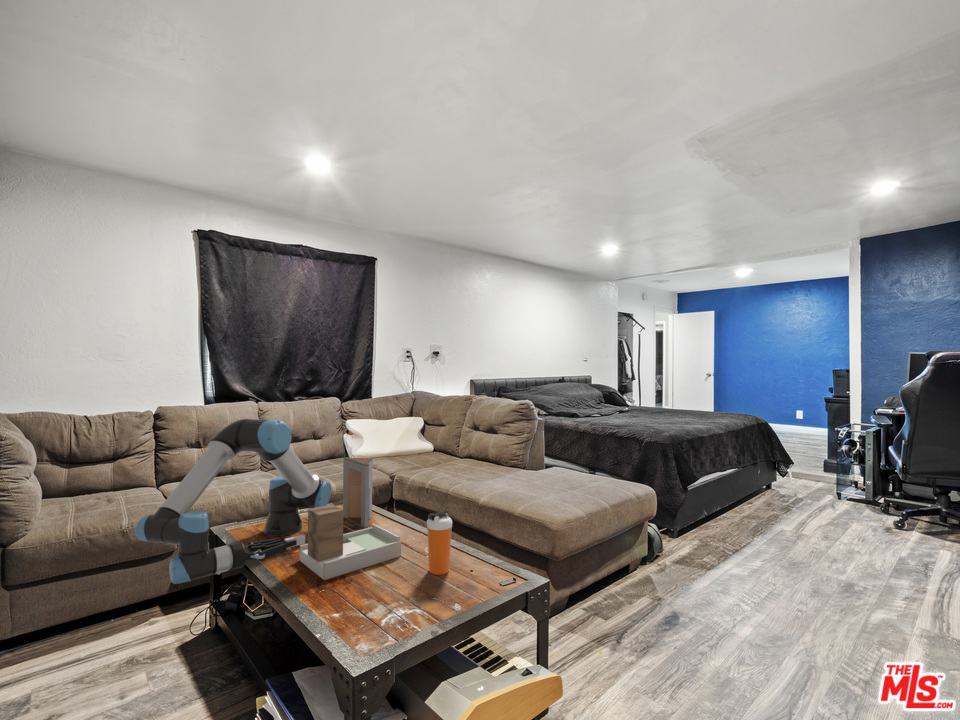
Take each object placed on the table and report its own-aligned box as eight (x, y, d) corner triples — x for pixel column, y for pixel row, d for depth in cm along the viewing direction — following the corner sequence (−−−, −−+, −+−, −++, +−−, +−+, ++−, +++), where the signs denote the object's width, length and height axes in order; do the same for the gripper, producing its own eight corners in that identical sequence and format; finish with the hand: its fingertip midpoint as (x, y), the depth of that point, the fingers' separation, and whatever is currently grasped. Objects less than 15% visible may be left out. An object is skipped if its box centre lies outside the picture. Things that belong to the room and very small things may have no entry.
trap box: (299, 560, 171) (299, 541, 171) (372, 540, 191) (372, 523, 191) (324, 580, 155) (324, 559, 156) (401, 555, 176) (401, 537, 176)
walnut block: (307, 554, 167) (308, 509, 167) (331, 547, 173) (332, 504, 173) (318, 562, 160) (318, 515, 160) (342, 555, 166) (343, 509, 167)
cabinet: (342, 517, 220) (343, 457, 220) (361, 512, 226) (362, 454, 227) (365, 528, 204) (365, 464, 205) (384, 523, 211) (384, 461, 211)
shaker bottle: (457, 570, 164) (457, 513, 164) (438, 578, 157) (438, 519, 157) (440, 563, 170) (440, 507, 170) (421, 570, 163) (421, 513, 163)
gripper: (223, 563, 150) (297, 544, 166) (235, 576, 141) (312, 555, 157) (223, 539, 150) (297, 523, 166) (235, 551, 141) (312, 533, 157)
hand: (304, 539), depth 161 cm, fingers closed
